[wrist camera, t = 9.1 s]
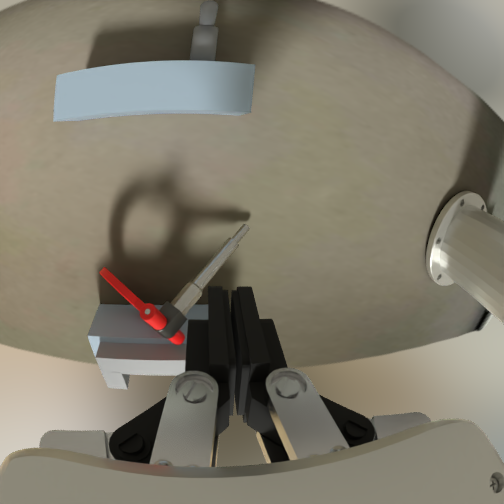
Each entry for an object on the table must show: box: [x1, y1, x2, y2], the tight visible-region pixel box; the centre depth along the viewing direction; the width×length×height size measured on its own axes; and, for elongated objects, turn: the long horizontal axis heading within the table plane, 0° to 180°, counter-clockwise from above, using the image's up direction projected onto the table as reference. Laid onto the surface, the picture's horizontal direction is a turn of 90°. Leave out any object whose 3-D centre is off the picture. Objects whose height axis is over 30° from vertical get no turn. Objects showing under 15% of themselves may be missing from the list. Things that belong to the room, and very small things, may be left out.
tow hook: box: [99, 224, 250, 345], centre depth 21 cm, size 7×10×7 cm
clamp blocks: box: [54, 0, 255, 389], centre depth 17 cm, size 12×28×6 cm, turn 175°
